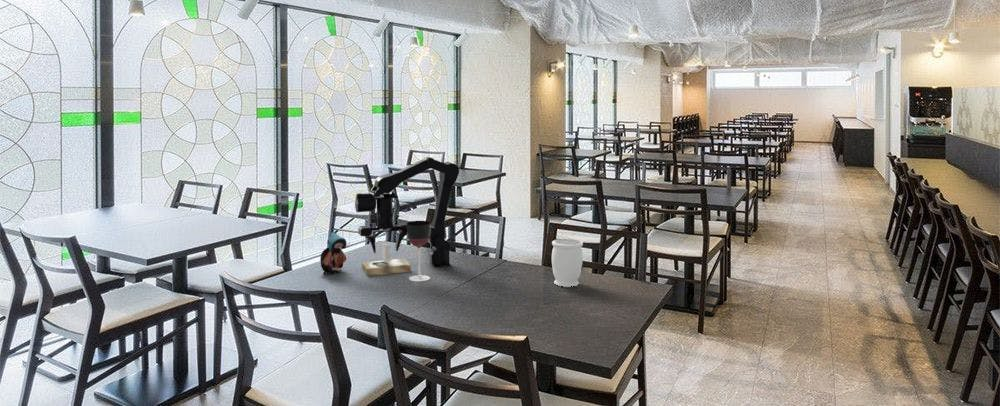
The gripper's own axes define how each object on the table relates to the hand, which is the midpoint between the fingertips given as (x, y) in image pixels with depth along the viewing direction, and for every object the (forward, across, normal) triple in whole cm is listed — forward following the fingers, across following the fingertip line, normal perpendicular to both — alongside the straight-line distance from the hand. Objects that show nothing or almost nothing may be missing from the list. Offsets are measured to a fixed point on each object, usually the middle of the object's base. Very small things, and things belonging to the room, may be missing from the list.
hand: (385, 252), depth 237 cm
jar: (+7, -54, +40) cm, 68 cm away
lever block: (+7, 0, 0) cm, 7 cm away
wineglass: (+7, -9, +15) cm, 18 cm away
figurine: (+7, +18, -4) cm, 20 cm away
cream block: (+4, +2, 0) cm, 5 cm away
